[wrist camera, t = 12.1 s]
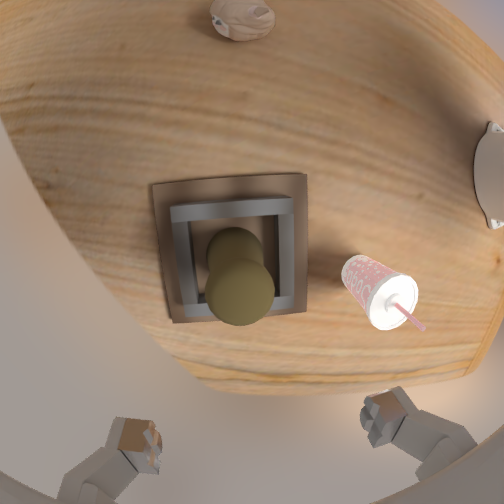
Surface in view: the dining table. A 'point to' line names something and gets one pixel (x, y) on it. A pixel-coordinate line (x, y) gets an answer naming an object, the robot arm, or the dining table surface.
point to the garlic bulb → (242, 18)
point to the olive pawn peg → (237, 278)
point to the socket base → (225, 216)
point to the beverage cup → (381, 292)
